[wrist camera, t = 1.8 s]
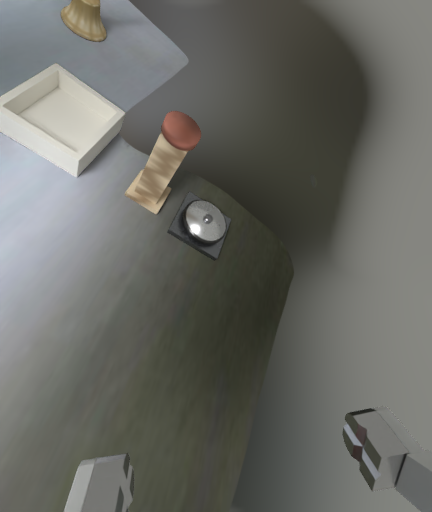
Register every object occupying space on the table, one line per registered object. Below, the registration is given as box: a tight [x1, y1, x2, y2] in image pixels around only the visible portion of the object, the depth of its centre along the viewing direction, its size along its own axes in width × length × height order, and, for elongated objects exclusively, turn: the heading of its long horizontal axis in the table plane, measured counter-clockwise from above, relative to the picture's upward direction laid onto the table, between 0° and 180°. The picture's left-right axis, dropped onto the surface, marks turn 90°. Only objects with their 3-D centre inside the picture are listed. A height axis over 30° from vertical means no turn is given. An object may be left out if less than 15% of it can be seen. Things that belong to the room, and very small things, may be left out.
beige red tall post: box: [125, 111, 201, 214], centre depth 39 cm, size 6×6×16 cm
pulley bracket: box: [167, 191, 231, 261], centre depth 47 cm, size 10×10×3 cm
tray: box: [0, 63, 126, 178], centre depth 40 cm, size 12×14×4 cm
